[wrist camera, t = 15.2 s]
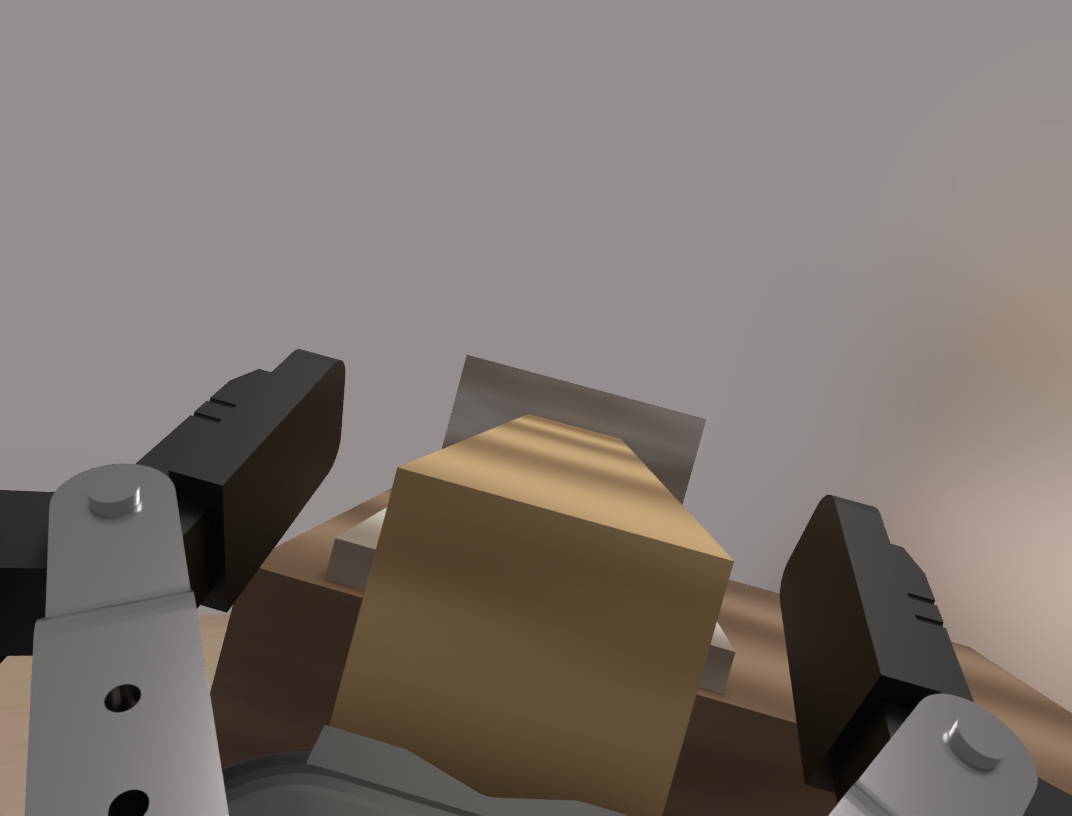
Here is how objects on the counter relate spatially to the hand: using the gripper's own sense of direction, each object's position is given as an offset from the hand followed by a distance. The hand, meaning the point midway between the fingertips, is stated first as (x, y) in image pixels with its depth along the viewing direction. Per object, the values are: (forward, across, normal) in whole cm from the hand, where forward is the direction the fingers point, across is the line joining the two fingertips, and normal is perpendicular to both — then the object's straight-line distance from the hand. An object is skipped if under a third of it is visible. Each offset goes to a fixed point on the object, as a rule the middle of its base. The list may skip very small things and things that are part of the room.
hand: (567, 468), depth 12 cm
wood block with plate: (+4, 0, +6) cm, 7 cm away
